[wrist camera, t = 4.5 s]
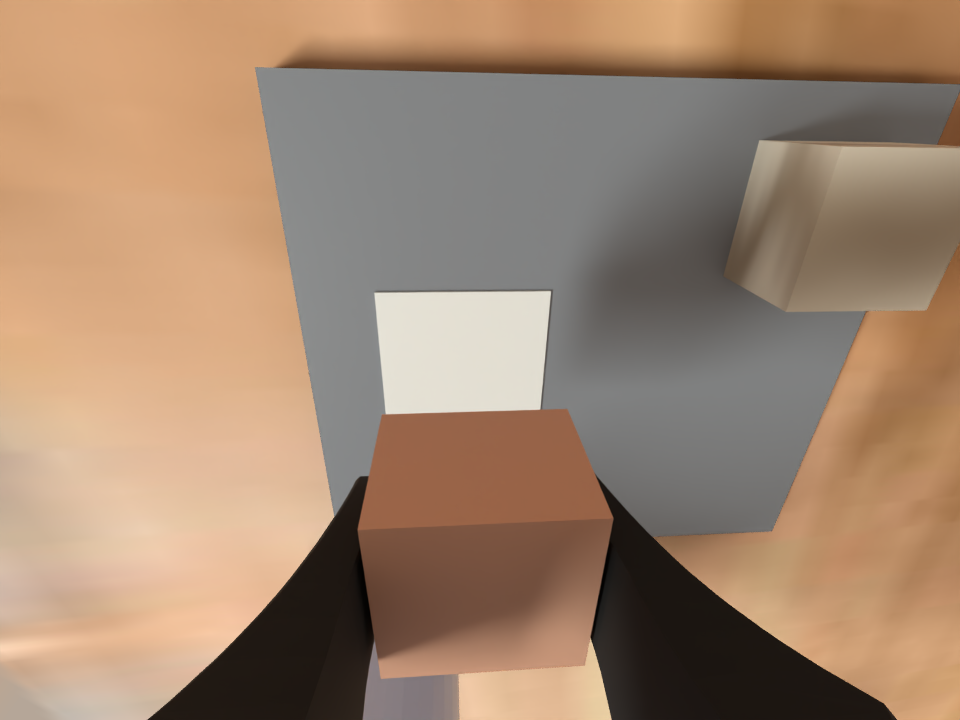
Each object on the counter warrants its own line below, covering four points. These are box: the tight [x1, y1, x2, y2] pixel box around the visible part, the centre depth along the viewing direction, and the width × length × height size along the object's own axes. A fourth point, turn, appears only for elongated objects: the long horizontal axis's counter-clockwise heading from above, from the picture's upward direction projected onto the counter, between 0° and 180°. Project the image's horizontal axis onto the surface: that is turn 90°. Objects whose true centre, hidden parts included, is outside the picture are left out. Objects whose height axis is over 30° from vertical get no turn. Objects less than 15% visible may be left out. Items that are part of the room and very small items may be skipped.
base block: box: [358, 409, 613, 679], centre depth 11 cm, size 5×5×4 cm
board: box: [255, 67, 960, 537], centre depth 19 cm, size 20×22×1 cm
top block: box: [723, 140, 960, 312], centre depth 15 cm, size 5×5×4 cm
